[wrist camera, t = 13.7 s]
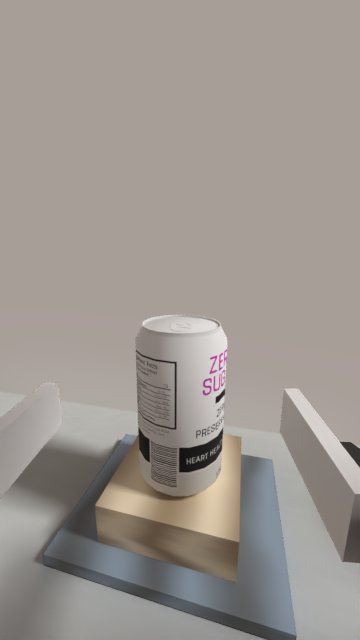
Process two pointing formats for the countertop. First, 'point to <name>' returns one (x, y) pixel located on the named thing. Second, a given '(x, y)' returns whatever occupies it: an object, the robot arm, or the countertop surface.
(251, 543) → the base
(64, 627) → the countertop surface
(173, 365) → the supplement can
